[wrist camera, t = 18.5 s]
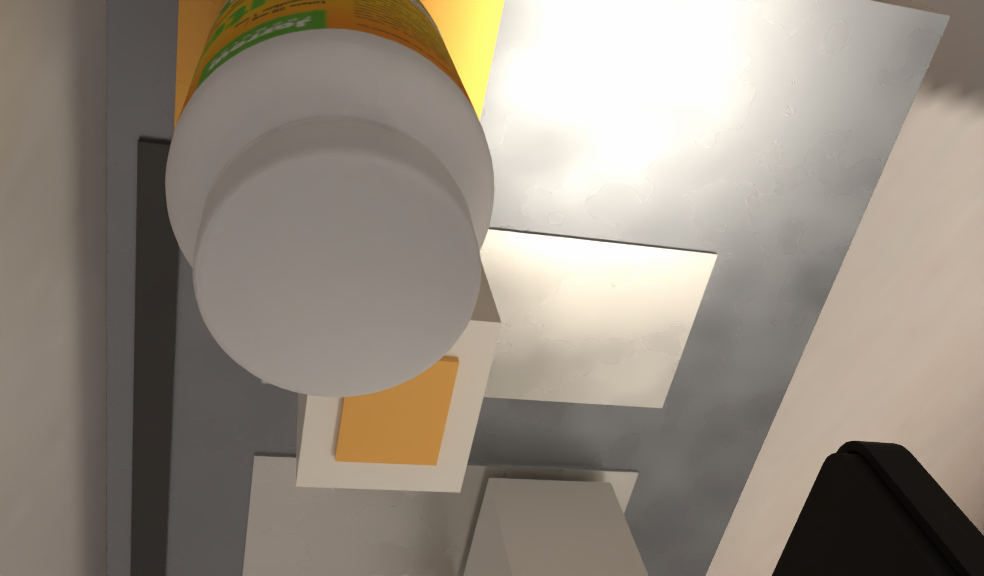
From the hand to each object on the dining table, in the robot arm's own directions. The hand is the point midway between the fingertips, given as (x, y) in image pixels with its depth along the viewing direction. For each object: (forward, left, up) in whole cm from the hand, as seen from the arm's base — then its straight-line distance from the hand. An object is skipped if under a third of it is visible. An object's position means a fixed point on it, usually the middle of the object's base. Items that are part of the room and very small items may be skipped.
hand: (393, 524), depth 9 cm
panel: (-5, +10, -17) cm, 20 cm away
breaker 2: (-8, +14, -14) cm, 21 cm away
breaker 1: (-2, +6, -14) cm, 16 cm away
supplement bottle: (0, 0, -14) cm, 14 cm away
